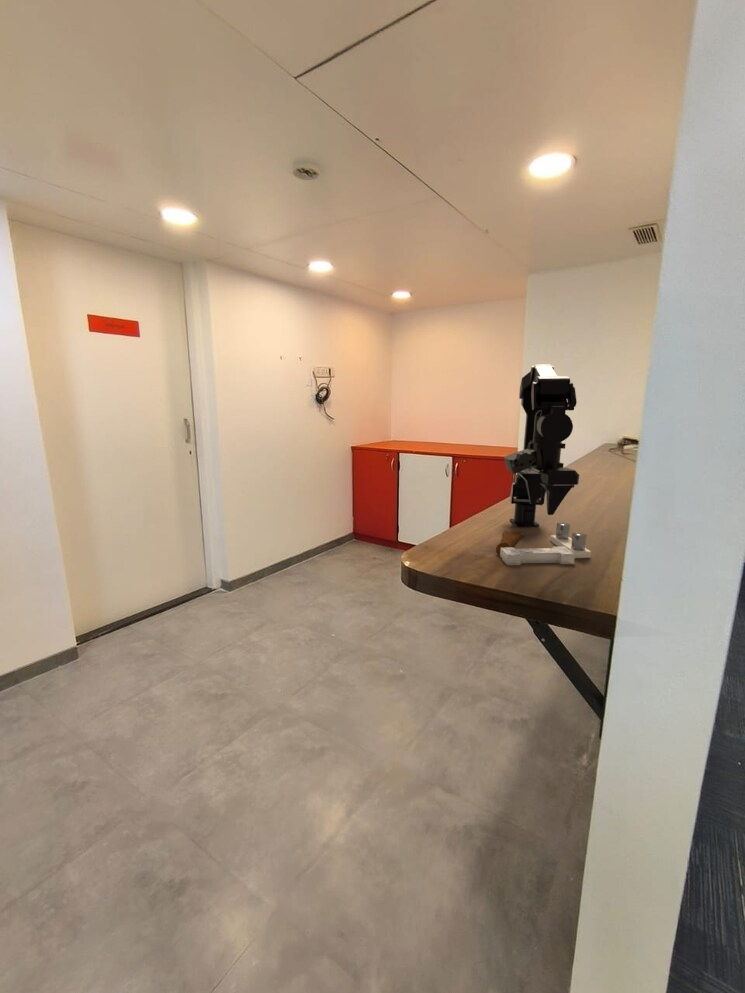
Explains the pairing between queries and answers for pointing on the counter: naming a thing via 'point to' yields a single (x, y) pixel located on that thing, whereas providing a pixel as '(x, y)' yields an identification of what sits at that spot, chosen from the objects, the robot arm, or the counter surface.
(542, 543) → the counter surface
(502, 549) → the spanner
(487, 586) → the counter surface
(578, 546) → the peg rack
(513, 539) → the primitive tool
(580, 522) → the counter surface
